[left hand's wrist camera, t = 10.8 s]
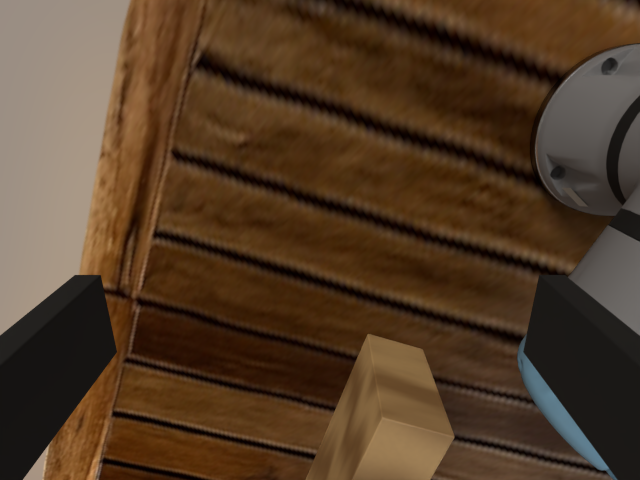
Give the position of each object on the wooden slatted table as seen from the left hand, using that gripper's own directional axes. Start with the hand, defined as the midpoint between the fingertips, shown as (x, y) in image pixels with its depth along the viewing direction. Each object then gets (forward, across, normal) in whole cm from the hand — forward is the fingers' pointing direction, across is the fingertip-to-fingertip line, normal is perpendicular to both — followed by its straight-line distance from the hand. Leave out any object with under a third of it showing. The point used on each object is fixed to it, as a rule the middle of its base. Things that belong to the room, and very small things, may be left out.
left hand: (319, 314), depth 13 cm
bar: (+16, +2, -23) cm, 28 cm away
